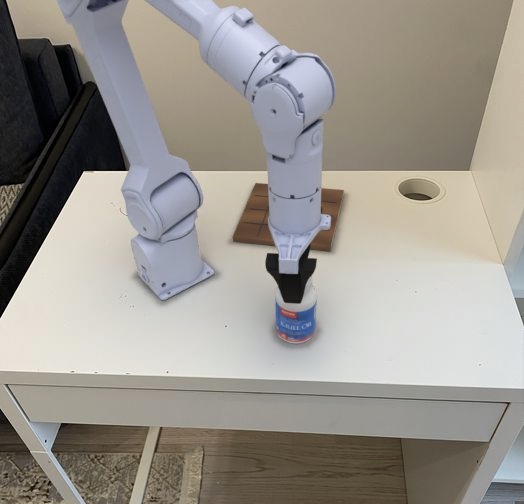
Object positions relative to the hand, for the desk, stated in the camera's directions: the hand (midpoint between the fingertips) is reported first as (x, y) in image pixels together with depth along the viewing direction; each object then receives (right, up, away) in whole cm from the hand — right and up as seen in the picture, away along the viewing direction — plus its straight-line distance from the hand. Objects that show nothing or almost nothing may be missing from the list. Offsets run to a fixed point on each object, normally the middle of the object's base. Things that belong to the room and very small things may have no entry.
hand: (295, 280), depth 68 cm
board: (+1, +14, +24) cm, 28 cm away
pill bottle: (+1, -6, +7) cm, 9 cm away
